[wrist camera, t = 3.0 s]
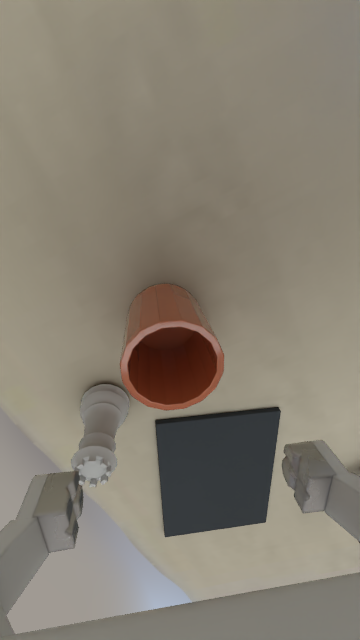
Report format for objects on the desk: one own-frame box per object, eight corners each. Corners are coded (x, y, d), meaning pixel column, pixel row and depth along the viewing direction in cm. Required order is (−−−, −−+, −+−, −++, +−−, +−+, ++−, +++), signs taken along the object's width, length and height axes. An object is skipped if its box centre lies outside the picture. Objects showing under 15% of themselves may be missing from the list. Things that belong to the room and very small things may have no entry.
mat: (155, 420, 29) (155, 424, 28) (278, 407, 30) (280, 410, 29) (164, 532, 36) (164, 537, 35) (264, 517, 37) (265, 522, 36)
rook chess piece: (78, 415, 27) (54, 493, 20) (86, 377, 26) (63, 446, 18) (124, 422, 28) (117, 499, 21) (134, 385, 27) (131, 454, 19)
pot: (123, 285, 23) (114, 324, 16) (200, 281, 24) (225, 316, 16) (131, 353, 25) (126, 414, 18) (200, 347, 26) (222, 404, 19)
